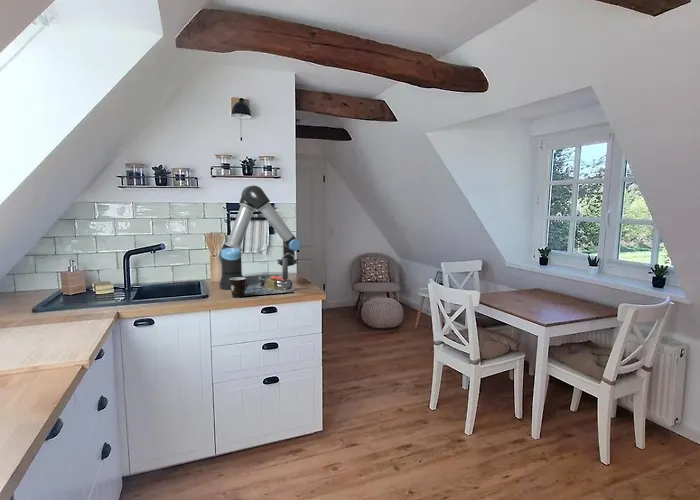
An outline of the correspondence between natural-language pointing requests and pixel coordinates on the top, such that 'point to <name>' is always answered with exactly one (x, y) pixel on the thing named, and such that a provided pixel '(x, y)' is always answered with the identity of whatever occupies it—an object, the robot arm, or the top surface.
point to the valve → (274, 284)
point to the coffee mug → (238, 287)
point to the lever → (284, 269)
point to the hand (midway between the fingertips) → (285, 265)
